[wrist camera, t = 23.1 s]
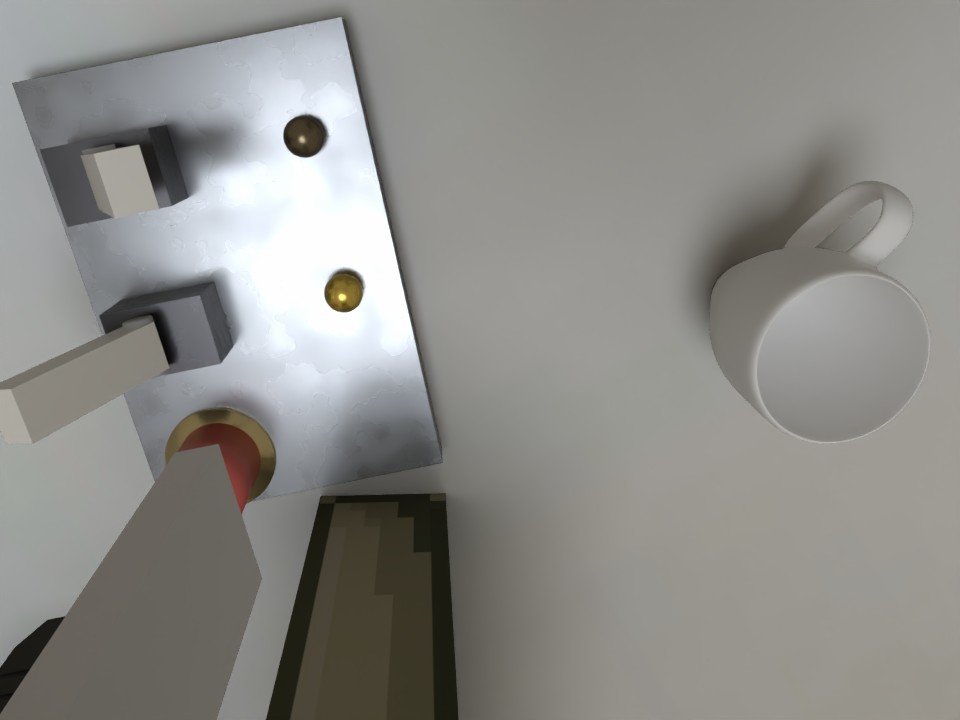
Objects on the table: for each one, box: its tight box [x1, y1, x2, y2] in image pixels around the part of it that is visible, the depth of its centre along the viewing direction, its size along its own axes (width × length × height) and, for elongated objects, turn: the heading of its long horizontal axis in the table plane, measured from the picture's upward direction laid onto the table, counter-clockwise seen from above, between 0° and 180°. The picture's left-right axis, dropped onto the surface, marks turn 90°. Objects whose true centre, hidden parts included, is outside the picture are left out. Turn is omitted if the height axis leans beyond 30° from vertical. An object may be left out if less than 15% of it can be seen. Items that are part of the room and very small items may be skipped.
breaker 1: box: [81, 144, 159, 219], centre depth 34 cm, size 3×2×8 cm, turn 11°
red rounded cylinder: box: [177, 423, 261, 514], centre depth 43 cm, size 4×4×6 cm
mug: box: [709, 181, 931, 444], centre depth 41 cm, size 12×8×11 cm
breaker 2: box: [0, 315, 170, 444], centre depth 37 cm, size 3×2×8 cm, turn 11°
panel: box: [12, 17, 442, 503], centre depth 43 cm, size 24×16×5 cm, turn 11°
